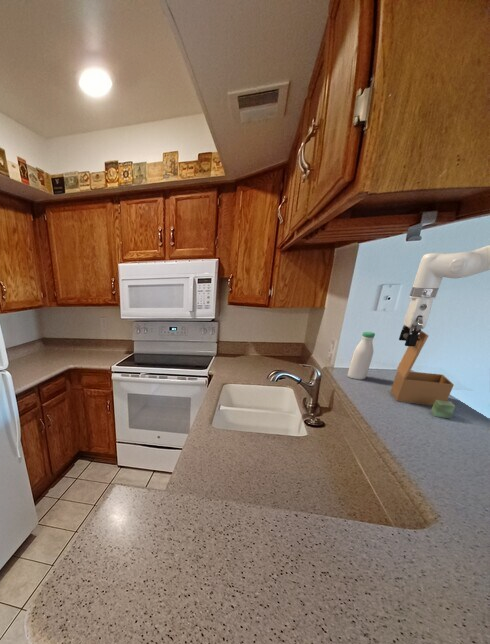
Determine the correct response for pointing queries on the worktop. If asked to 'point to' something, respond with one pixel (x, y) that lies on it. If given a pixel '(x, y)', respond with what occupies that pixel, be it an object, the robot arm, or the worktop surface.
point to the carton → (421, 388)
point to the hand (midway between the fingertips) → (406, 343)
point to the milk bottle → (362, 357)
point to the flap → (411, 354)
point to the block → (443, 408)
